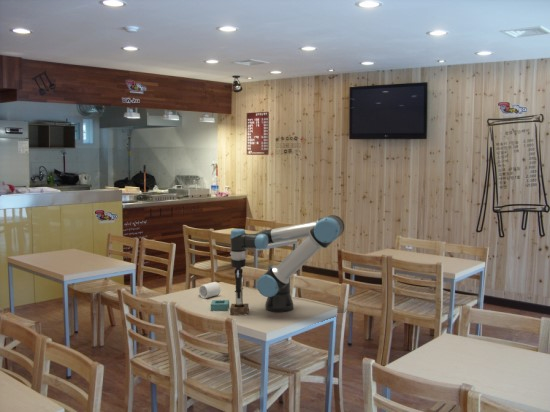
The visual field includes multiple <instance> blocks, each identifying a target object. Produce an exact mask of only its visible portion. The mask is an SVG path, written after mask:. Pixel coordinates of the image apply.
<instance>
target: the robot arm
mask: <svg viewBox="0 0 550 412" xmlns="http://www.w3.org/2000/svg"><path fill="white" fill-rule="evenodd" d="M344 231H345V222H344V221H343V219H342V218H341V217H340V216H338V215H335V214H331V215H327V216H325V217H321V218H318V219H317V220H315V221H311V222H304V223H299V224H294V225H287V226H282V227H277V228H272V229H271V228H270V229H262V230H261V231H259V232H256V233H247V232H246V230H245V229H244V228H235V229H232V230H231V231H230V252H229V254H230V258H231V259H230V260H231V261H230V262H231V263H230V265H231V267H232V268H235V269H234V278H235V290H234V293H235V304H242V294H241V286H242V289H243V290H244V287H243V268H245V267H246V263H247V261H246V255H247V254H246V252H247V251H246V249H255V250H256V249H258V250H262V249H267V248H268V246H269V245H271V244H277V243H281V242H288V241H294V240H295V241H296V240H300V239H304V240H303V241H302V242H301V243H300V244H299V245H298V246H296V247H295V248H294V249H293V250H292V251H291V252H290V253H289V254H288V255H287V256H286V257H284V259H283V260H282V261H280V263H279V264H278V265H269V266H268V267H267V271H266V272H264V273H263V274H262V275H260V276H259V278H258V279H257V281H256V288H257V291H258V292H259V294H261V296H263V297H266V301H265V305H264V307H265V310H266V311H269V312H275V313H278V312H279V313H283V312H290V311H292V310H294V307H295V306H294V305H295V304H294V301H293V298H292V295H291V277H293V275H295V274H296V272H297V271H299V270H300V269H301V268H302V267H303V266H304V265H305V264H306V263H307V262H308V261H309V260H310V259H311V258H312V257H314V256H315V254H316V253H318V251H320V250H321V249H326V248H328V247H329V246H330V245H331V244H332V243H333V242H334V241H335V240H336V239H337V238H339V237H340V236H342V234H343V233H344Z"/></svg>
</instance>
